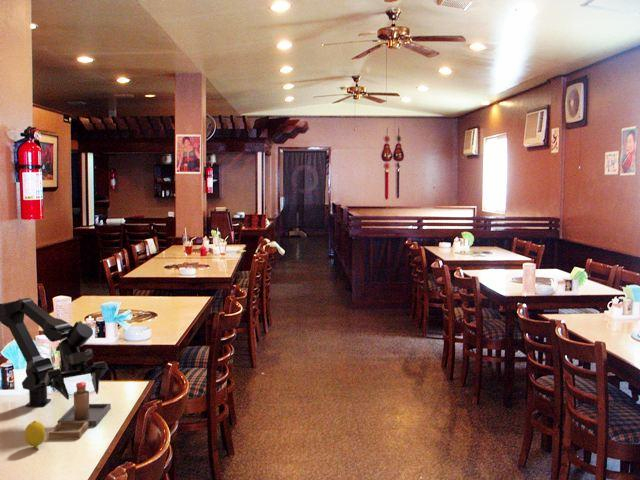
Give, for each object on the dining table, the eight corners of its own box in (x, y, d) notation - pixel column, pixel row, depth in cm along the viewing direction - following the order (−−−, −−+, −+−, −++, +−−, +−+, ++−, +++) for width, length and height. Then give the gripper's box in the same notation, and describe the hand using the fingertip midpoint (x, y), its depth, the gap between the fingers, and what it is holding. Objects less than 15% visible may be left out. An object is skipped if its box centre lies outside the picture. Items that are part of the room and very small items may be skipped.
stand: (59, 428, 196) (59, 421, 196) (88, 427, 196) (88, 421, 196) (48, 439, 187) (48, 432, 187) (79, 438, 188) (79, 432, 187)
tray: (74, 409, 213) (74, 404, 213) (110, 408, 213) (110, 403, 213) (57, 426, 197) (57, 421, 197) (96, 426, 198) (96, 420, 197)
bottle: (77, 415, 204) (76, 381, 203) (91, 415, 205) (90, 381, 204) (72, 421, 200) (71, 385, 199) (86, 420, 200) (86, 385, 199)
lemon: (37, 452, 178) (37, 425, 177) (20, 450, 179) (19, 423, 178) (49, 444, 183) (49, 418, 183) (33, 443, 184) (32, 416, 184)
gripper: (46, 345, 197) (57, 388, 190) (104, 337, 209) (117, 377, 201) (39, 364, 204) (50, 407, 197) (97, 355, 216) (109, 395, 208)
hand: (83, 396), depth 201 cm, fingers open, 9 cm apart
